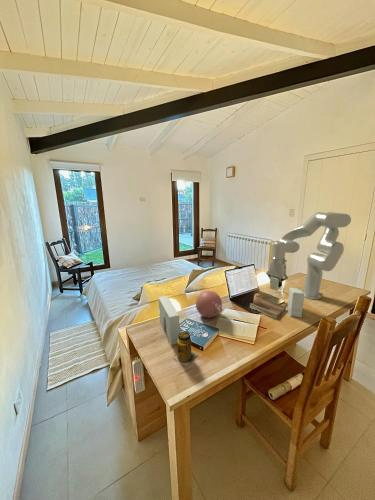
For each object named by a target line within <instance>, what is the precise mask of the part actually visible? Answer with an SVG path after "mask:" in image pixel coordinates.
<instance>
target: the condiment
mask: <svg viewBox="0 0 375 500" xmlns="http://www.w3.org/2000/svg"><path fill="white" fill-rule="evenodd" d="M176 345H177V347H176V348H177V354H176V355H175V356H174V357H173V359H174V360H175V361H177V362H178V363H180V364H182V365H183V366H184V367H187V366H188V365H190V363H192V361H194V359H196V358H197V356H198V354H197V353H195V352H193V351H192V339H191V334H190V332H189V331H180V333H179V335H178V342H177V344H176Z"/></svg>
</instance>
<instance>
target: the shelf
mask: <svg viewBox="0 0 375 500" xmlns="http://www.w3.org/2000/svg"><path fill="white" fill-rule="evenodd" d="M250 308H251V310H253V309H254V310H253V311H255V310H257V311H259V312H258V313H260V312H261V313H260V314H262V315H265V316H268V317H270V318H272V319H275V320H277V319H278V318H279V317H280V316H281V315H282V314H283V313H284V312H285V311H286V310H287V306H285V305H281V304H279V303H277V302H273V301H271V300H269V299H266V298H263V297H262V299H261V305H260V306H256V305H254V304H253V302H252V303H249V309H250ZM257 311H256V312H257Z"/></svg>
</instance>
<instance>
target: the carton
mask: <svg viewBox="0 0 375 500" xmlns="http://www.w3.org/2000/svg"><path fill="white" fill-rule="evenodd" d="M279 281H280V280H279V277H275V276H273V277H271V283H270V282H269V283H270V284H269V289H270V290H272V291H273V290H274V291H278V290H279V289H281V287H282V286H281V287H280V288H279V287H278V285H279Z"/></svg>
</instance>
